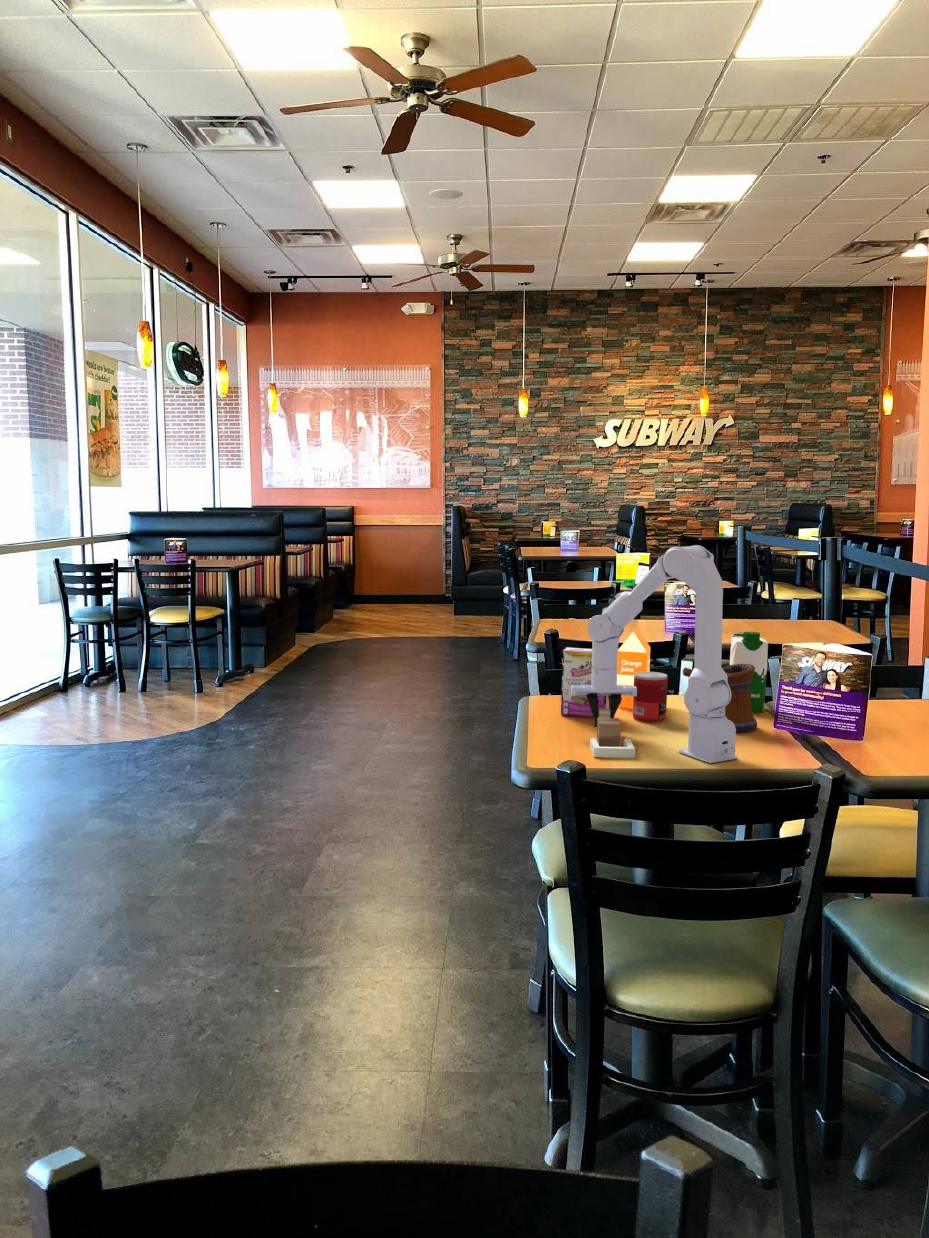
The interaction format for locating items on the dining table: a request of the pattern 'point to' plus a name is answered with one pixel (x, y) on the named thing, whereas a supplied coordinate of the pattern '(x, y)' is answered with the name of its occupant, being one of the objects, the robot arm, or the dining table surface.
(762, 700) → the milk carton
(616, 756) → the white u-shaped bracket
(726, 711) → the mug
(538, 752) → the dining table surface
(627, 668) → the orange juice
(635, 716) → the canned food
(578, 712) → the candy bar box
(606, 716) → the block
